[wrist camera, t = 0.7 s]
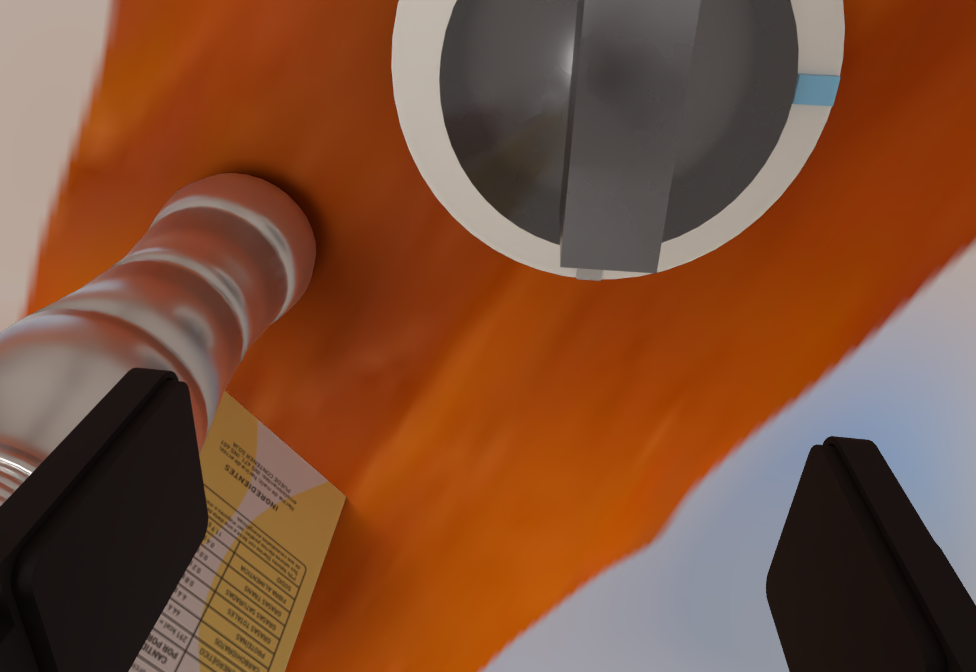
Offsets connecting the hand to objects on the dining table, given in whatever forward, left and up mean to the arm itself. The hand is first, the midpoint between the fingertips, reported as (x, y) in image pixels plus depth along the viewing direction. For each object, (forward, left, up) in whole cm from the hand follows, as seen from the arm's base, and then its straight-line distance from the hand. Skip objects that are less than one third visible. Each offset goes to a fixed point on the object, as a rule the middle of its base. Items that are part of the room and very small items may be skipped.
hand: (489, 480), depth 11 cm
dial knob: (-2, +3, -19) cm, 20 cm away
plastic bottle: (+6, -12, -23) cm, 27 cm away
